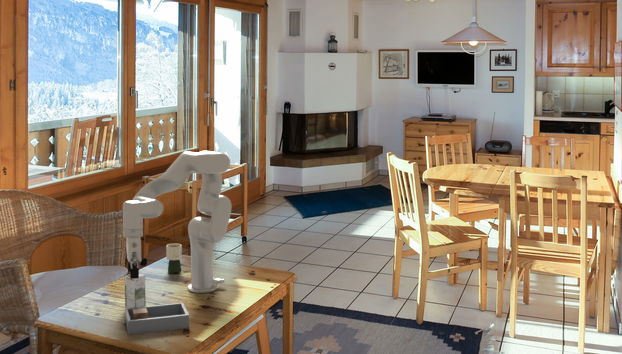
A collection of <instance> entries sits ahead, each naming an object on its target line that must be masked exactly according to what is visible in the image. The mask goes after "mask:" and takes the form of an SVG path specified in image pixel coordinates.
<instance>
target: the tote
mask: <svg viewBox="0 0 622 354" xmlns="http://www.w3.org/2000/svg"><path fill="white" fill-rule="evenodd" d="M140 308H146V309H147V312H148V318H146V319H137V320H133V309H140ZM124 322H125V326H126V330H127V334H128V336H129V335H137V334H145V333H155V332H164V331H171V330H180V329H189V328H190V314H189V312H188V309H187V308H186V306H185V304H184V302H176V303H166V304H165V303H163V304H155V305H147V306H144V307H134V308H125V307H124Z"/></svg>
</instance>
